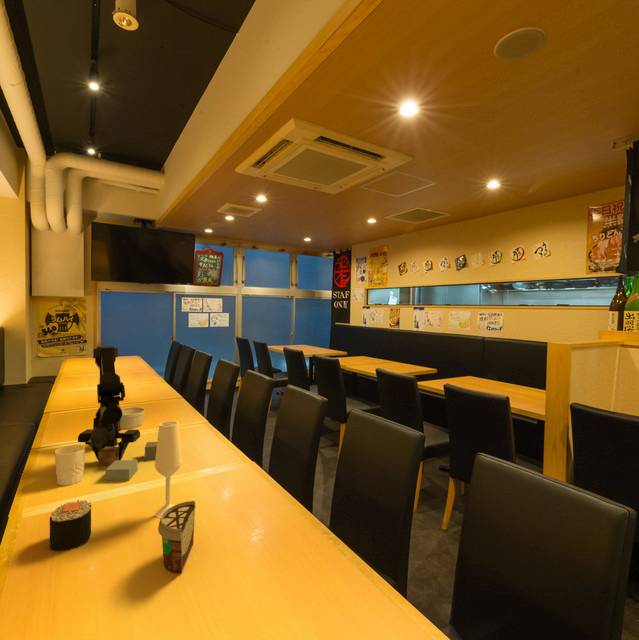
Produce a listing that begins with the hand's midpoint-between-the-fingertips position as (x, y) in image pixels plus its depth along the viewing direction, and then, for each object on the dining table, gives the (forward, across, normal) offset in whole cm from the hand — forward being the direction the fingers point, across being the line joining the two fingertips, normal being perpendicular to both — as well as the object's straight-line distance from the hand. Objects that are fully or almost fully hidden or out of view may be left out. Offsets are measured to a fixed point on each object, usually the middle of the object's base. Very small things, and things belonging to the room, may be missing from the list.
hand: (109, 460), depth 129 cm
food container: (+1, +39, -50) cm, 63 cm away
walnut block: (+1, 0, 0) cm, 1 cm away
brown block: (+1, +13, +5) cm, 14 cm away
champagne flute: (+1, +31, -31) cm, 44 cm away
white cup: (+1, -5, -13) cm, 14 cm away
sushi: (+1, +13, -43) cm, 45 cm away
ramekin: (+1, -12, +41) cm, 43 cm away
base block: (+1, +9, -10) cm, 14 cm away
